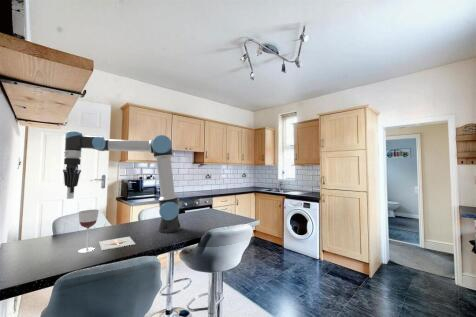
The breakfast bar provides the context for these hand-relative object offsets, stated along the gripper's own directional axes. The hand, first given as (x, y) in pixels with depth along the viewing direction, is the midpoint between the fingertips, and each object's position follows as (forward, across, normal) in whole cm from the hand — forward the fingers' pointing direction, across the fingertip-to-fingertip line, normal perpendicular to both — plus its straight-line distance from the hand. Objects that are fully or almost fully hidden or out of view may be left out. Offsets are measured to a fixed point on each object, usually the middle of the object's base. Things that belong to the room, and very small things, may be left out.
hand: (70, 198), depth 123 cm
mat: (+25, +27, +10) cm, 38 cm away
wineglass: (+25, +22, -3) cm, 33 cm away
